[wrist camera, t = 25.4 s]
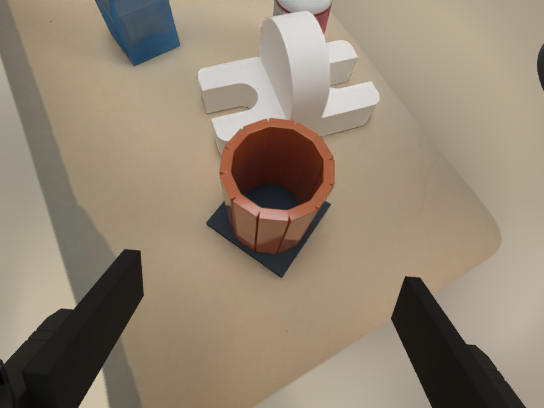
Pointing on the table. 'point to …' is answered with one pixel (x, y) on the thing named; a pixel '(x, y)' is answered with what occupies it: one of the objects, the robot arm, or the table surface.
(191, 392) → the table surface
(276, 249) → the orange hollow cylinder
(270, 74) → the white slotted bracket
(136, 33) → the perfume bottle
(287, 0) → the pill bottle
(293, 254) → the mat
